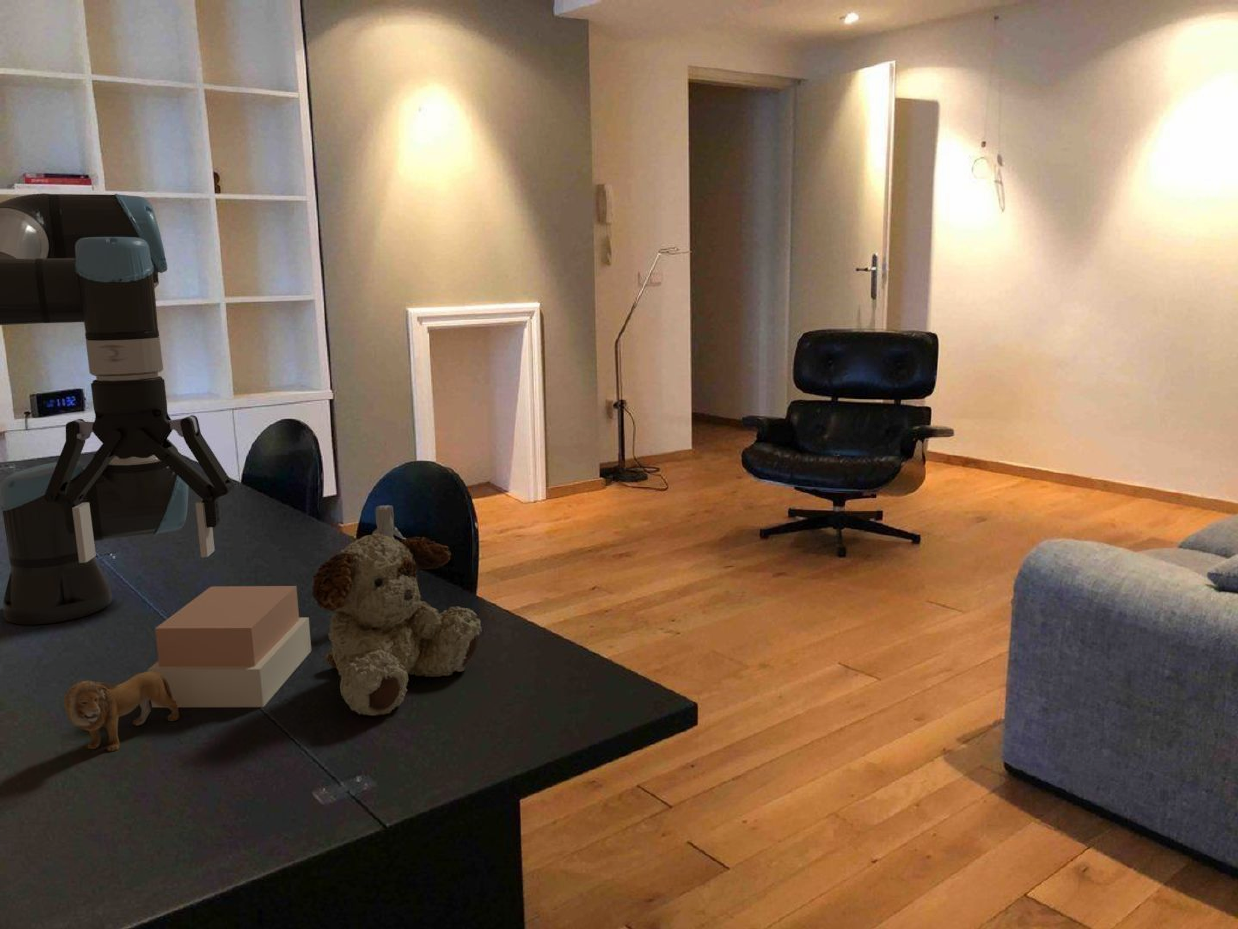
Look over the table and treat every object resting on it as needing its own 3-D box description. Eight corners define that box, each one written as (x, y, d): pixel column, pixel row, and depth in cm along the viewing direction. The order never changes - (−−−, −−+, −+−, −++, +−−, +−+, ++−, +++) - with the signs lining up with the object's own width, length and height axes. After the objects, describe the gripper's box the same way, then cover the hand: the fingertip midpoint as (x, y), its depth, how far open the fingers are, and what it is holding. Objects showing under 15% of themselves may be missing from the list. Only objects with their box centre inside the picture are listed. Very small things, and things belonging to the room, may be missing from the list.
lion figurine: (95, 769, 107) (85, 693, 105) (58, 762, 108) (47, 686, 106) (193, 712, 120) (185, 643, 118) (158, 706, 122) (150, 638, 120)
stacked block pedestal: (151, 707, 121) (142, 631, 119) (213, 651, 139) (207, 584, 137) (263, 707, 121) (256, 631, 119) (311, 650, 139) (305, 583, 137)
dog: (369, 733, 114) (357, 569, 110) (264, 698, 124) (250, 547, 120) (495, 664, 133) (489, 523, 129) (396, 638, 143) (387, 506, 139)
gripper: (-6, 383, 106) (20, 571, 110) (231, 376, 108) (248, 560, 112) (28, 376, 113) (51, 552, 117) (249, 370, 116) (265, 543, 120)
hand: (148, 557), depth 115 cm, fingers open, 13 cm apart
